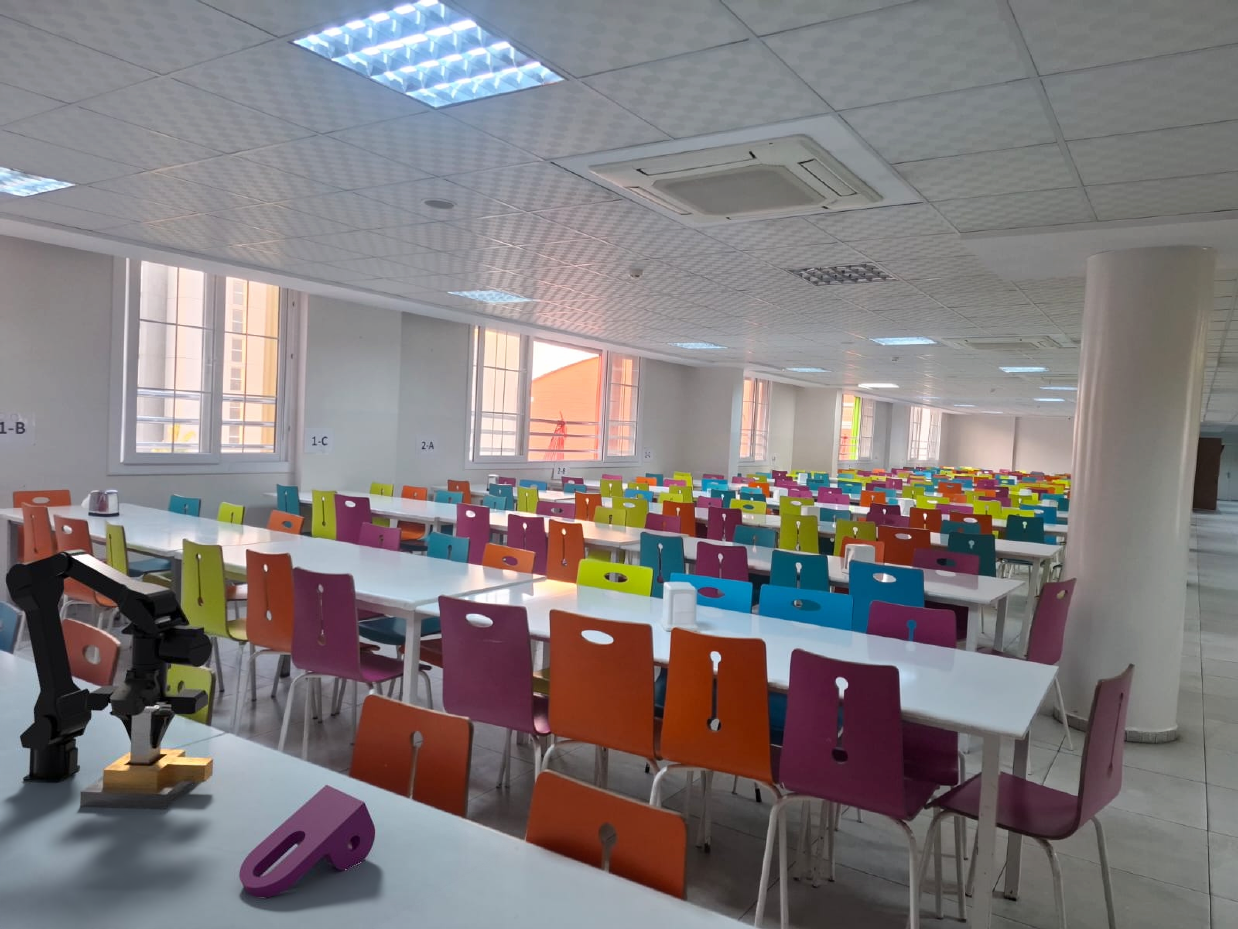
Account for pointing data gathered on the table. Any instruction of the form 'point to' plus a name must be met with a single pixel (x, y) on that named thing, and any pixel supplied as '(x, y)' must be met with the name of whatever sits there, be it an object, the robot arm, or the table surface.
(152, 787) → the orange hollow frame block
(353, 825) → the mounting bracket
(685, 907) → the table surface
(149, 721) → the grey rectangular block
